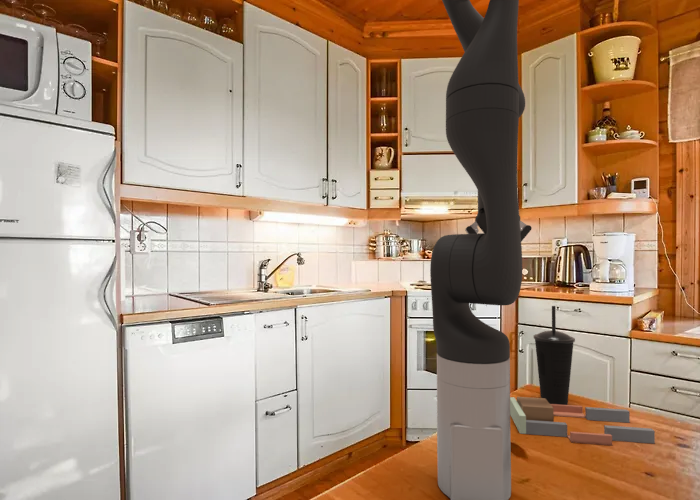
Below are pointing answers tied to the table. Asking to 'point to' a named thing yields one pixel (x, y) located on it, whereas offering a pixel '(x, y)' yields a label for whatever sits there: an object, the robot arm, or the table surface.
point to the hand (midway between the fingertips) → (497, 272)
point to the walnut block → (536, 409)
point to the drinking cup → (554, 363)
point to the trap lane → (592, 414)
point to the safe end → (518, 415)
